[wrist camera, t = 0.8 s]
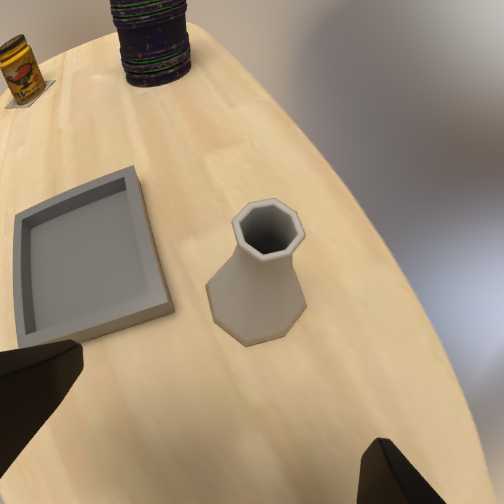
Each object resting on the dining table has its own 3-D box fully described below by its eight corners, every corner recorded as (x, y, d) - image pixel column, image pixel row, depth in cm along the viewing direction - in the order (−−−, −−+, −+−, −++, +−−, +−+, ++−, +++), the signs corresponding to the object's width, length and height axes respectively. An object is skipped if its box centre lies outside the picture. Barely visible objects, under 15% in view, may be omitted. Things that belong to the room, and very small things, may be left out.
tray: (36, 355, 19) (18, 350, 17) (27, 228, 24) (14, 215, 22) (175, 311, 22) (167, 301, 19) (140, 182, 27) (133, 165, 24)
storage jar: (128, 64, 38) (112, -16, 24) (188, 51, 39) (183, -30, 26) (123, 94, 34) (101, -2, 20) (195, 79, 35) (188, -21, 22)
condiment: (29, 107, 34) (4, 50, 23) (4, 108, 34) (-19, 59, 24) (56, 81, 37) (37, 26, 26) (29, 83, 38) (10, 35, 27)
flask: (189, 282, 23) (161, 206, 14) (267, 238, 25) (284, 149, 16) (241, 364, 20) (245, 340, 11) (322, 309, 22) (376, 249, 13)
